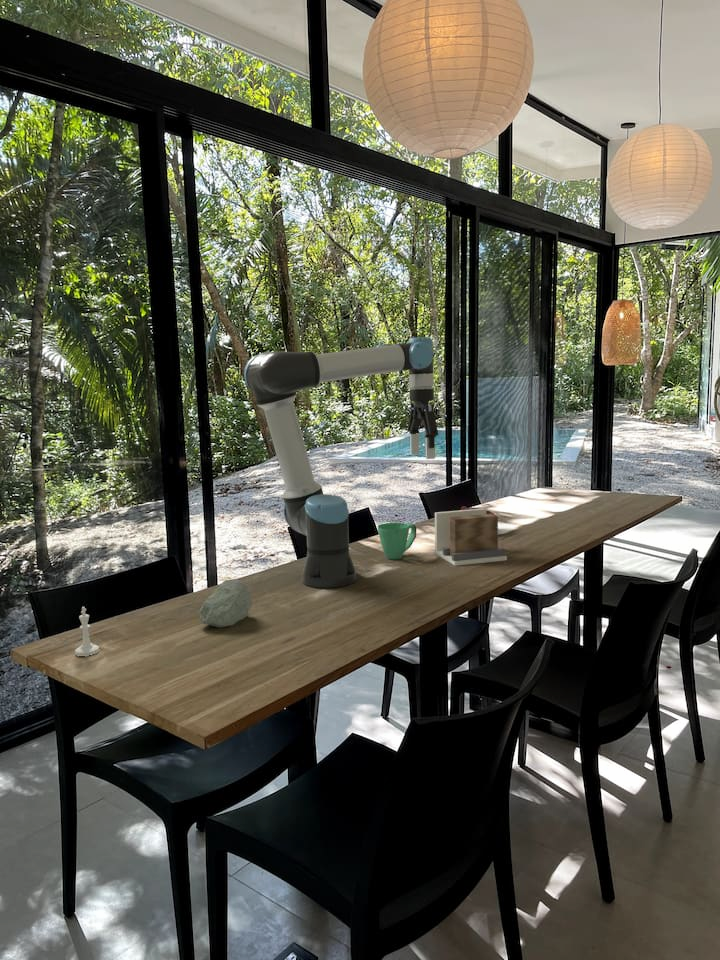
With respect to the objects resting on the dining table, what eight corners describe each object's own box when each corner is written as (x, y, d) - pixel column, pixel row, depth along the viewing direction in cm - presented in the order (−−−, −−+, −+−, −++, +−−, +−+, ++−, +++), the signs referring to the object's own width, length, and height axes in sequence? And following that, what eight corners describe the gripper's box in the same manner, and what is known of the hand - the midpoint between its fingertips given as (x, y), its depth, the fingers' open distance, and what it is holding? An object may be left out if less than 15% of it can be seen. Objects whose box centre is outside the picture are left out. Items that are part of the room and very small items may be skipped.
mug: (394, 563, 216) (393, 530, 214) (371, 557, 223) (370, 526, 221) (426, 553, 226) (426, 522, 224) (403, 549, 233) (403, 518, 231)
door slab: (455, 558, 214) (455, 519, 212) (450, 555, 218) (449, 517, 216) (497, 554, 218) (497, 515, 216) (491, 551, 222) (491, 513, 220)
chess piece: (102, 647, 154) (98, 602, 153) (95, 656, 150) (91, 610, 148) (79, 648, 154) (75, 603, 153) (71, 657, 149) (67, 611, 148)
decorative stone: (241, 608, 178) (214, 580, 175) (267, 600, 170) (240, 571, 167) (212, 648, 169) (184, 619, 166) (239, 642, 162) (210, 612, 159)
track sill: (454, 565, 211) (454, 522, 209) (434, 553, 226) (434, 512, 224) (506, 560, 216) (507, 517, 214) (483, 548, 231) (483, 508, 229)
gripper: (448, 388, 210) (449, 460, 213) (418, 387, 234) (419, 451, 237) (424, 389, 208) (425, 461, 211) (397, 388, 231) (398, 453, 235)
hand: (422, 456), depth 224 cm, fingers open, 13 cm apart
